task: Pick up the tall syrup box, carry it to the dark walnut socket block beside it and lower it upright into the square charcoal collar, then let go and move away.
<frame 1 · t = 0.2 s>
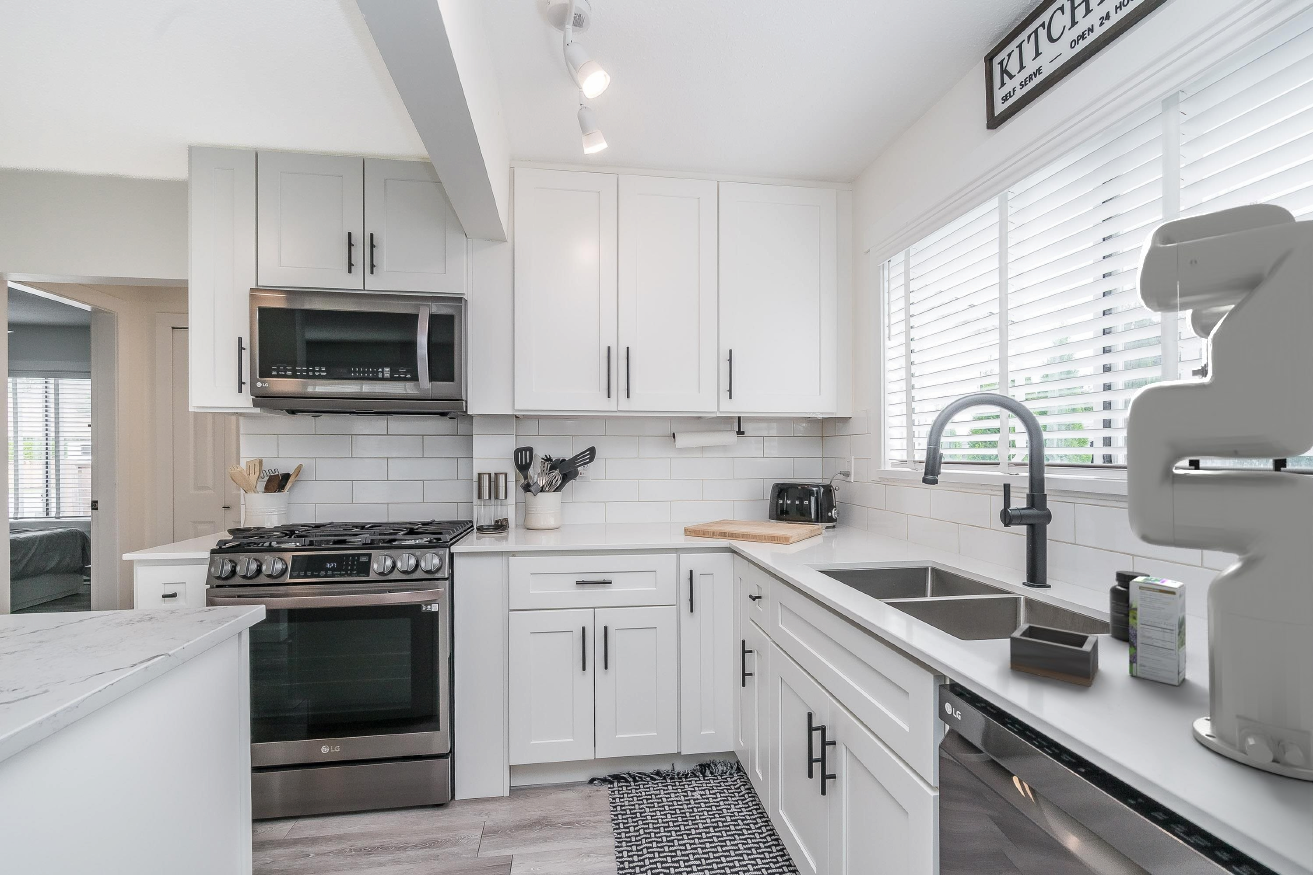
hand: (1235, 471, 97), 31 cm above the countertop, tool pointing down, fingers open, 9 cm apart
socket block: (1054, 668, 89), on the countertop
syrup box: (1158, 677, 86), on the countertop
supplement bottle: (1133, 639, 104), on the countertop
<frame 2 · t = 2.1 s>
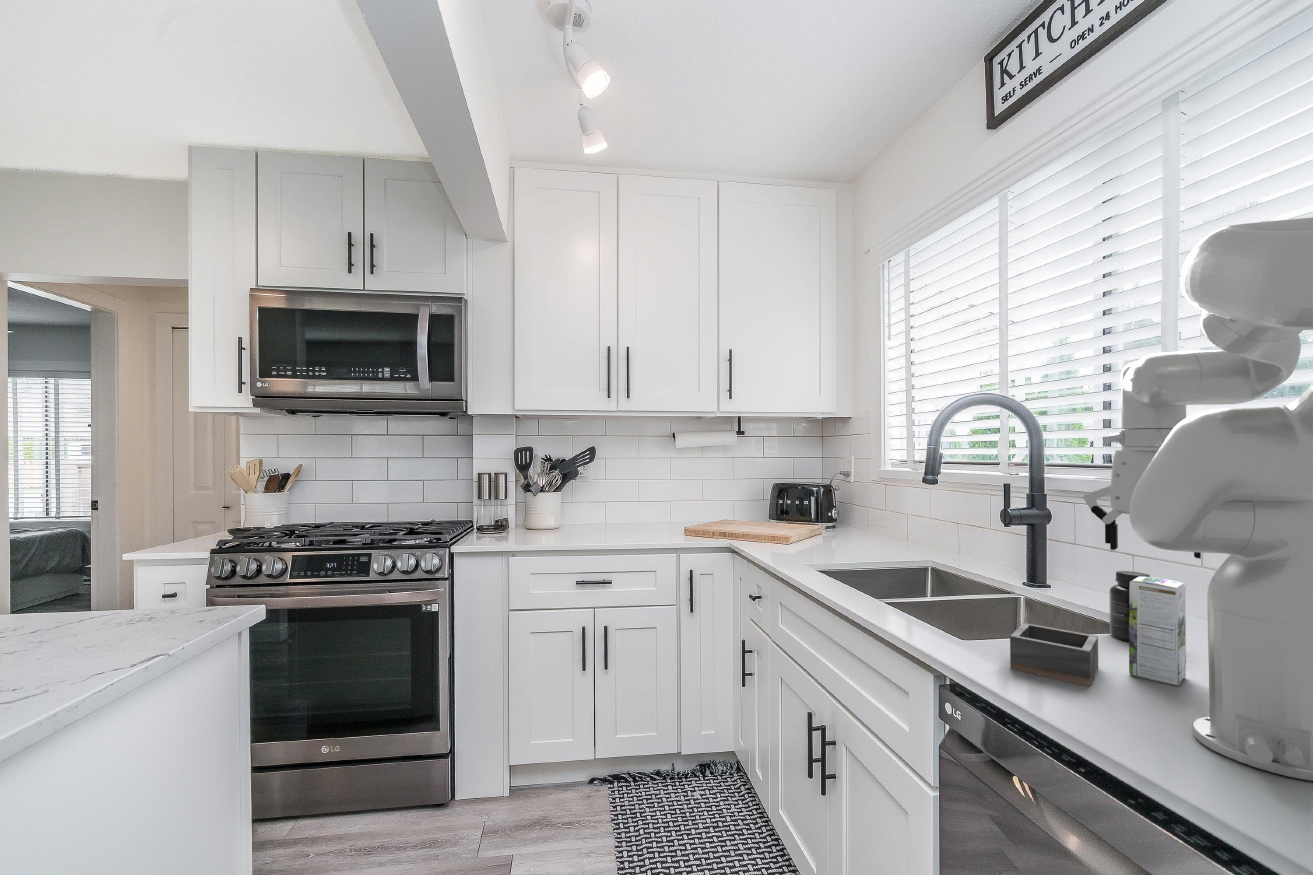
hand: (1154, 552, 87), 19 cm above the countertop, tool pointing down, fingers open, 9 cm apart
nothing on the countertop moved.
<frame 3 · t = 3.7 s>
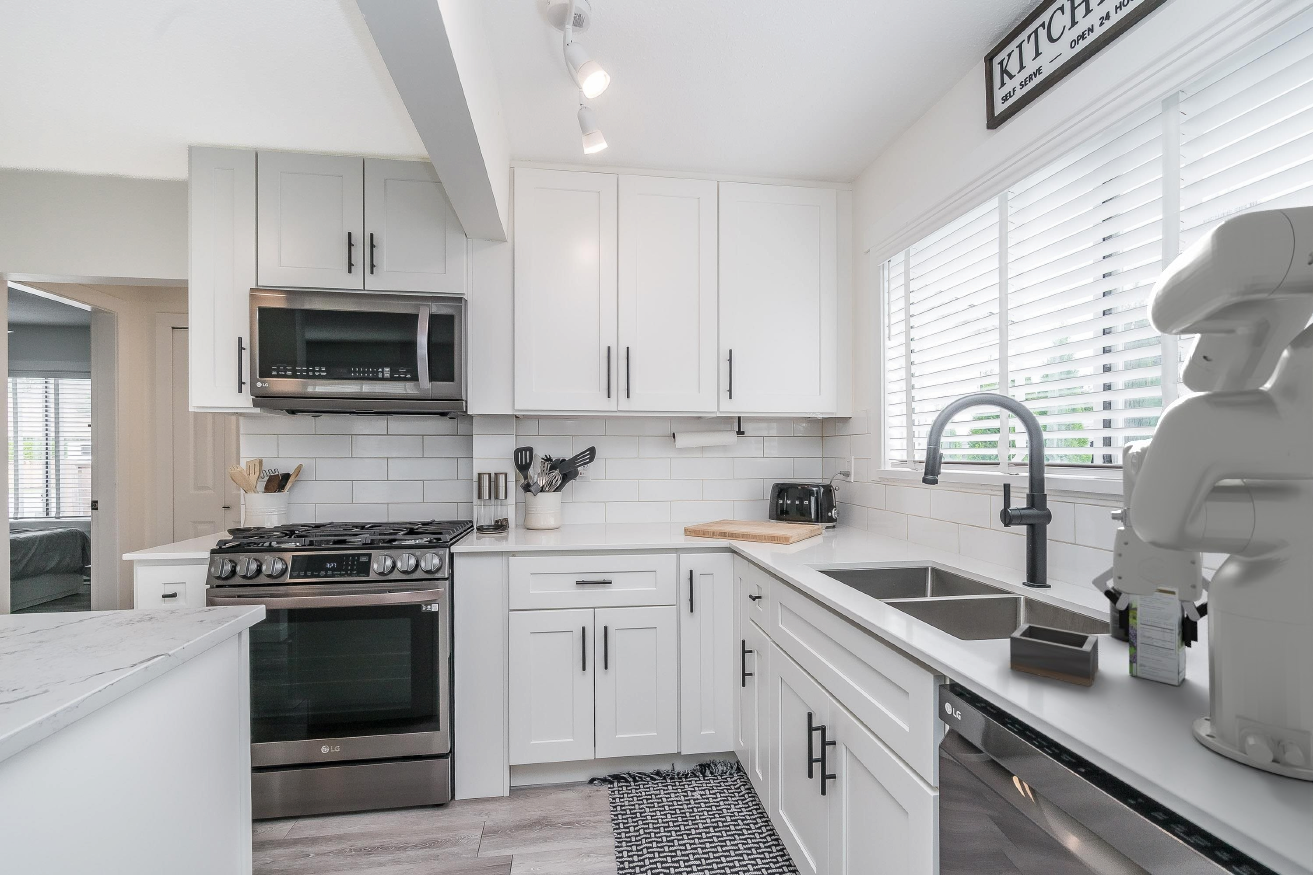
hand: (1157, 638, 86), 6 cm above the countertop, tool pointing down, fingers closed on syrup box, 6 cm apart
syrup box: (1158, 677, 86), on the countertop, touching gripper
everything else where it was.
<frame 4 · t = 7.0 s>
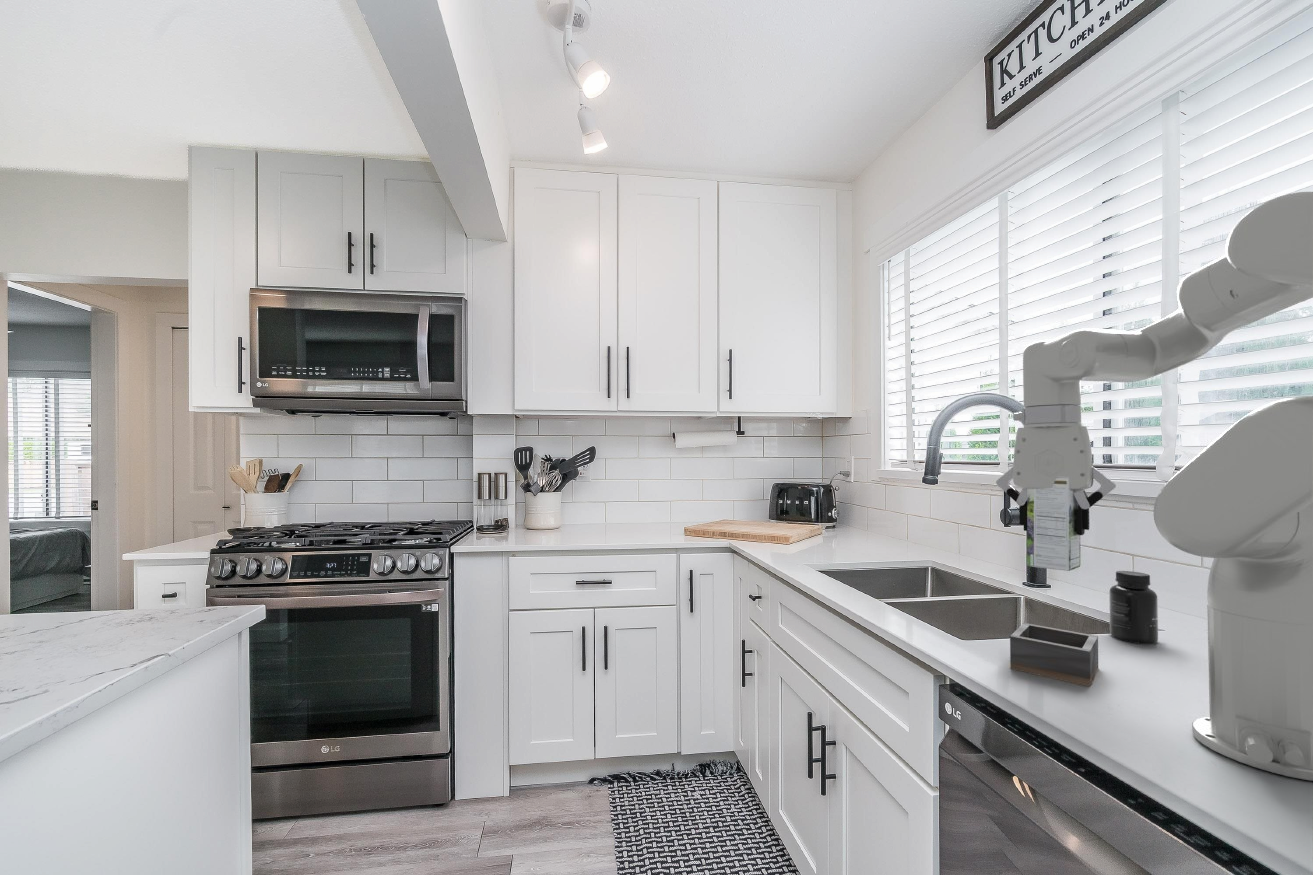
hand: (1053, 531, 90), 21 cm above the countertop, tool pointing down, fingers closed on syrup box, 6 cm apart
syrup box: (1054, 568, 90), point 16 cm above the countertop, touching gripper
everything else where it was.
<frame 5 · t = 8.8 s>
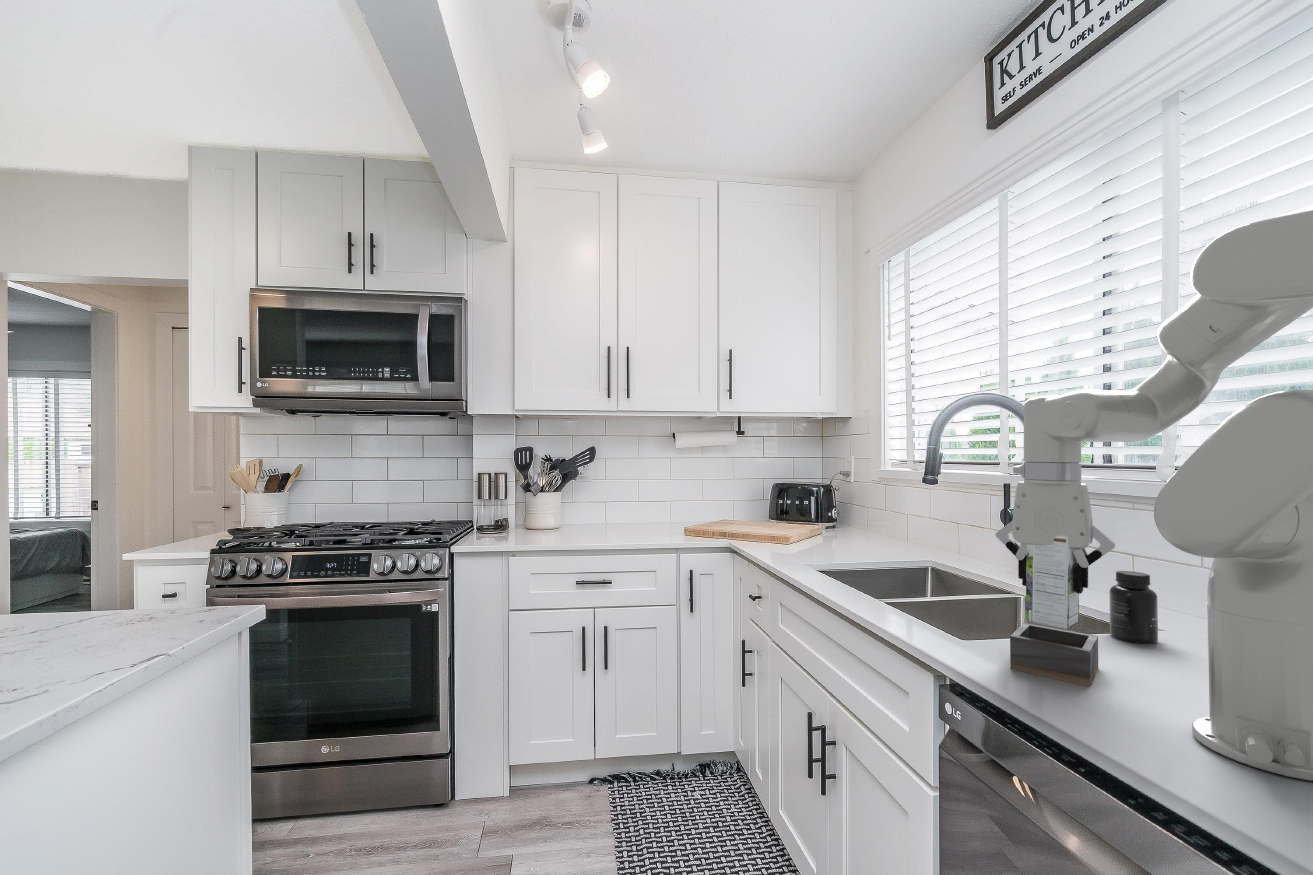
hand: (1052, 586, 90), 13 cm above the countertop, tool pointing down, fingers closed on syrup box, 6 cm apart
syrup box: (1052, 623, 90), point 7 cm above the countertop, touching gripper
everything else where it was.
when the fingers open (7 cm above the countertop, at t = 10.3 s): syrup box stays where it is, resting on socket block.
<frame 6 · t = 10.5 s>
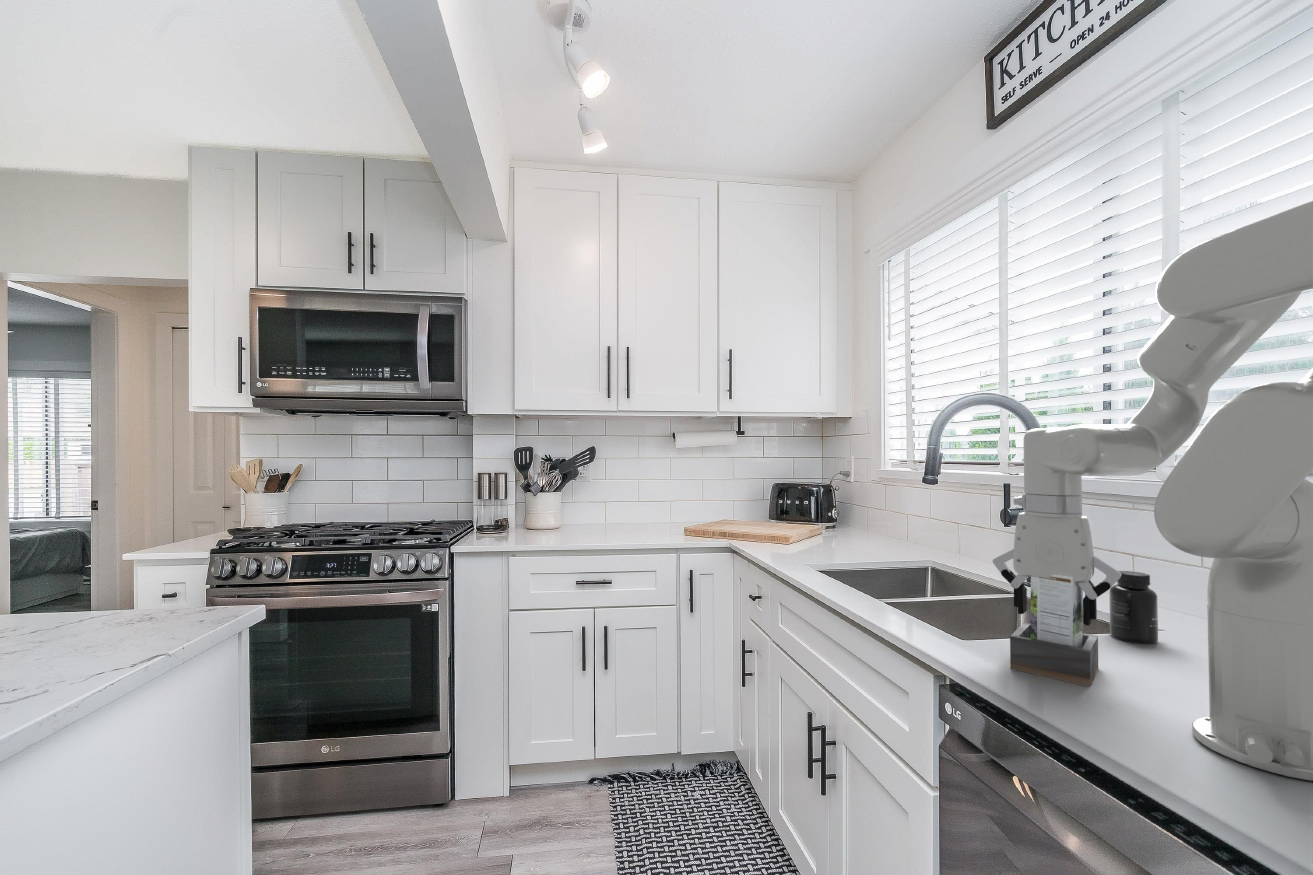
hand: (1053, 617, 89), 8 cm above the countertop, tool pointing down, fingers open, 8 cm apart
syrup box: (1057, 663, 89), point 1 cm above the countertop, touching socket block
everything else where it was.
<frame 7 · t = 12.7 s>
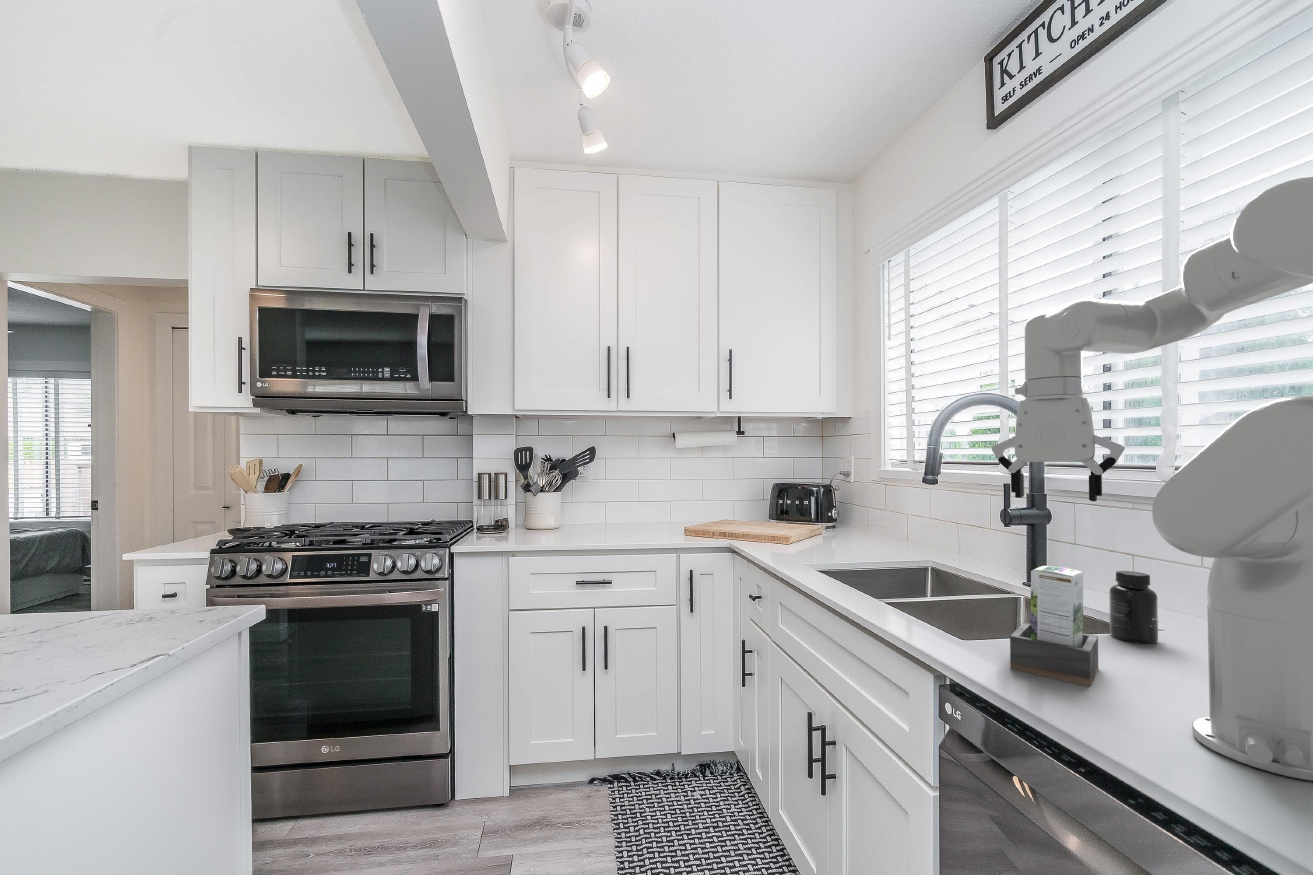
hand: (1055, 498, 90), 26 cm above the countertop, tool pointing down, fingers open, 9 cm apart
nothing on the countertop moved.
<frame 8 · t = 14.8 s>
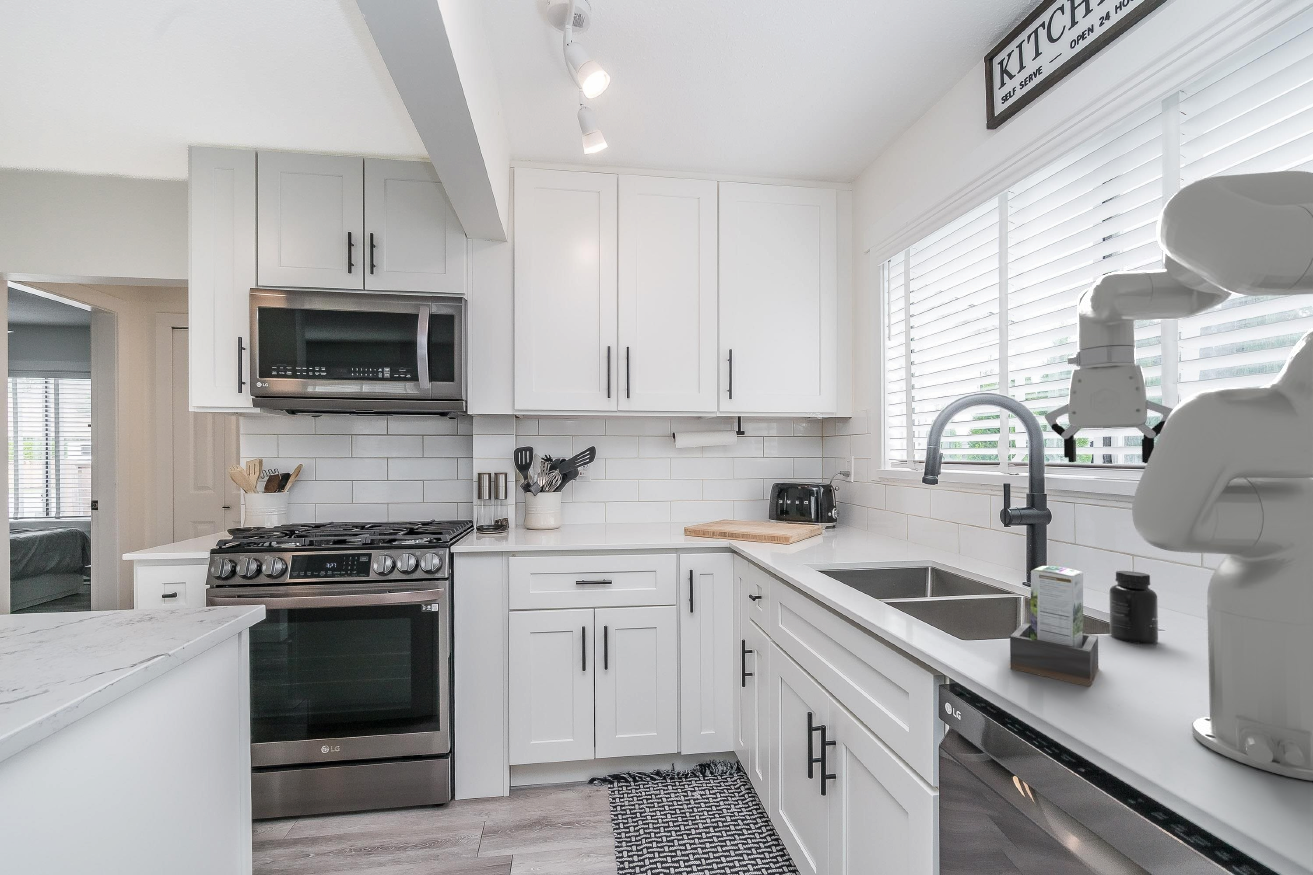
hand: (1107, 462, 95), 32 cm above the countertop, tool pointing down, fingers open, 9 cm apart
nothing on the countertop moved.
at the end: syrup box 0.4 cm off-centre on the socket block, point 0.8 cm above the socket block's base; syrup box tilted 0°; the gripper is holding nothing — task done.
